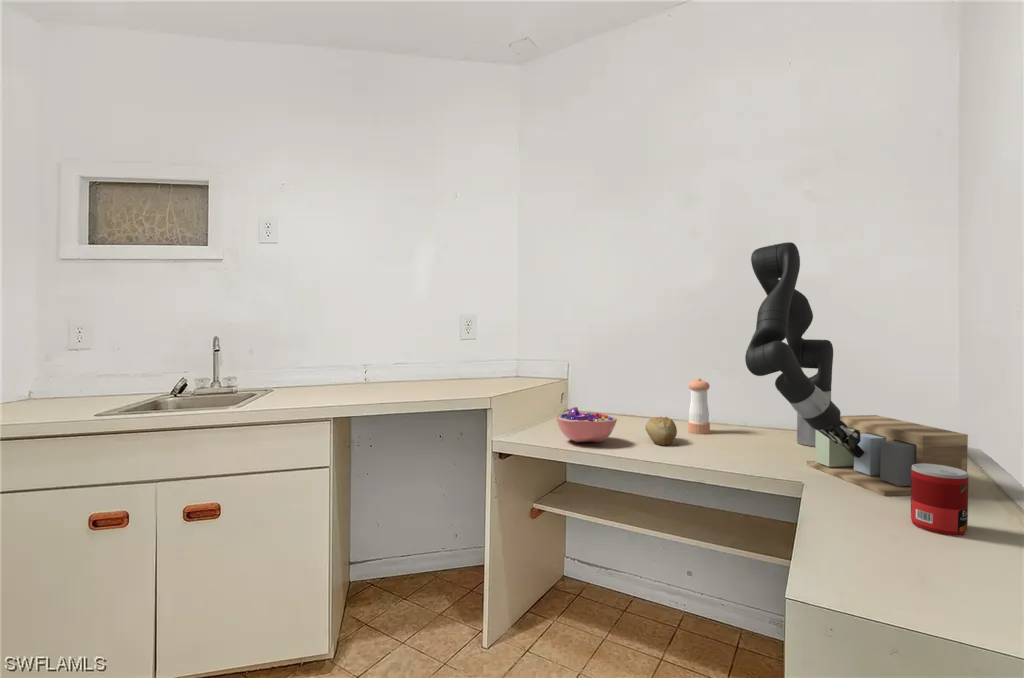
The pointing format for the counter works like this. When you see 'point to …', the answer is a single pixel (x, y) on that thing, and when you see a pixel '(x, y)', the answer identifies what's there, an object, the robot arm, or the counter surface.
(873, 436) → the blue-grey key
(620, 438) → the counter surface
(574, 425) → the cell model
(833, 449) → the sage key
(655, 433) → the bread roll
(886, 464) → the charcoal key
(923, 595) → the counter surface
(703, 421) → the salt shaker
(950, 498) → the canned food
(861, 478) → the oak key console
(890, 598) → the counter surface
